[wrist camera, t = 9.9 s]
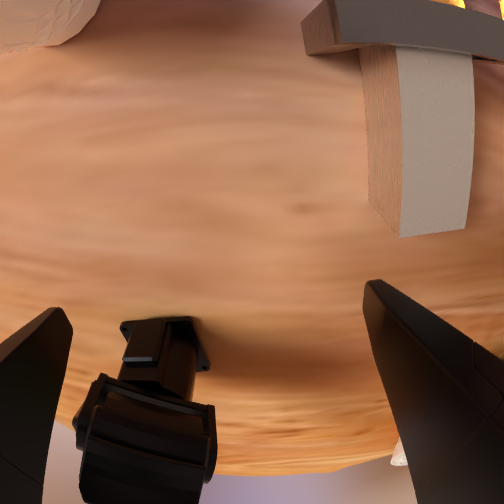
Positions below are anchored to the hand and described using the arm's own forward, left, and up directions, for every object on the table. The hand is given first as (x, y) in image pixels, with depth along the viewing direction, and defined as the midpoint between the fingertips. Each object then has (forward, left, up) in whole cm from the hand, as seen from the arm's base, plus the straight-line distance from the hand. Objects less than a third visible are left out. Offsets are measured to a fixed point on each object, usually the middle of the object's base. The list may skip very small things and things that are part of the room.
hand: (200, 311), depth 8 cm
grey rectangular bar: (+7, -11, -12) cm, 17 cm away
